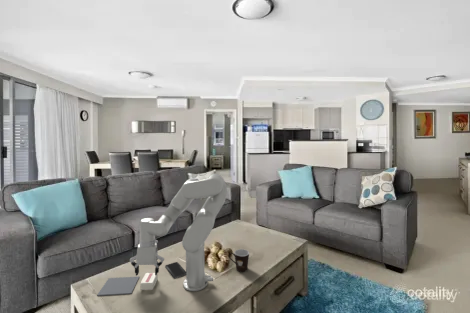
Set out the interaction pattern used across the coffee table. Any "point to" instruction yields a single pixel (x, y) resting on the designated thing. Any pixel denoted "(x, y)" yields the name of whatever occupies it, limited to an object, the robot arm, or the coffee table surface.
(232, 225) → the coffee table surface
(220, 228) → the coffee table surface
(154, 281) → the card box
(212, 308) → the coffee table surface
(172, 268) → the phone
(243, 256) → the coffee mug
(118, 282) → the mat
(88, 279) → the coffee table surface
